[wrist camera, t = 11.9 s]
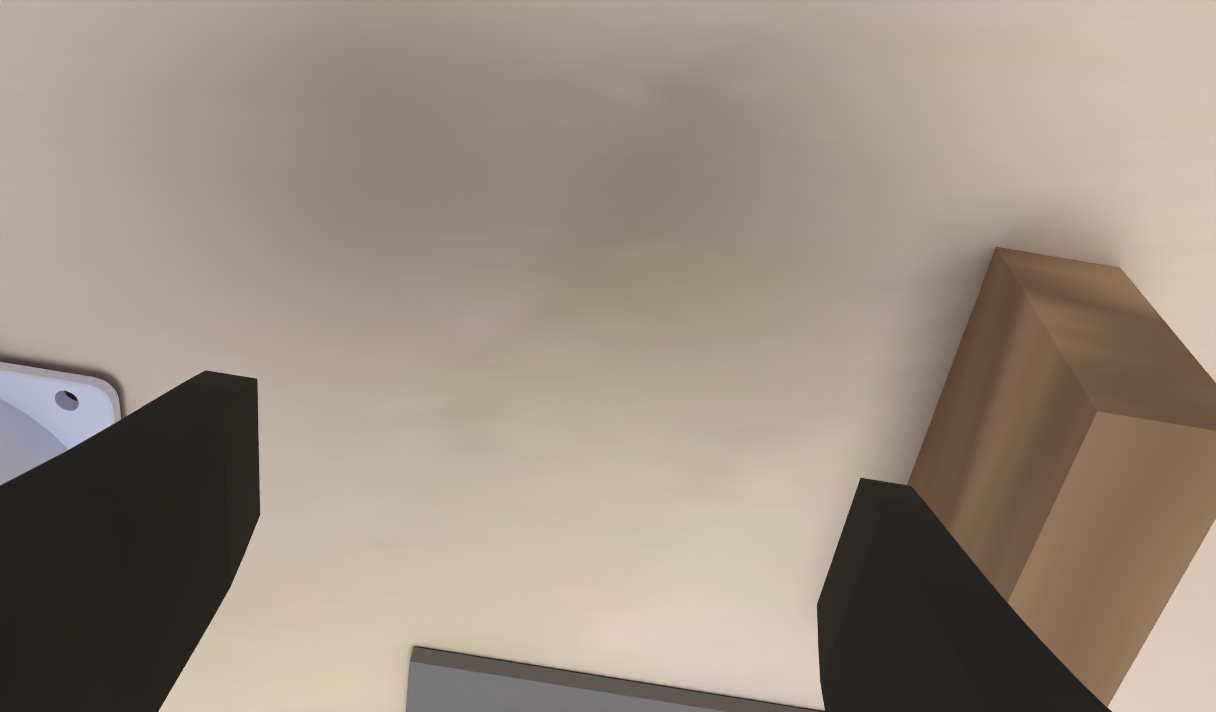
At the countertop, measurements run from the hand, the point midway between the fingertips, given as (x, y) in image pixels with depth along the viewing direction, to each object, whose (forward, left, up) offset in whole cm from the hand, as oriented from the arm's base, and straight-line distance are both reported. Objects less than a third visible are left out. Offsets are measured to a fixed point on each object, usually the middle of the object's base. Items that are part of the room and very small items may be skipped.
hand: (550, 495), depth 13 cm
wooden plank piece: (+9, -5, -10) cm, 14 cm away
